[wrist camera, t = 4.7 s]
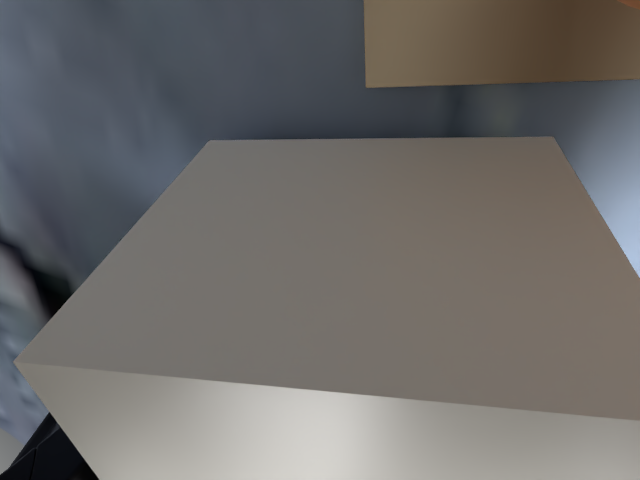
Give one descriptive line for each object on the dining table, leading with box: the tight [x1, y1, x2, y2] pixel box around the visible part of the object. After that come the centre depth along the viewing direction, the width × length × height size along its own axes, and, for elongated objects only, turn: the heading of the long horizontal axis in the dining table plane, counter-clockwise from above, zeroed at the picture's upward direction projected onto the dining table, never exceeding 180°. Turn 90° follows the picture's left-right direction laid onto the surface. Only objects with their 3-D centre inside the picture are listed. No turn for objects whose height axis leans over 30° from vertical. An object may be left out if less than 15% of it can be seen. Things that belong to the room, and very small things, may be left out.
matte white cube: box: [13, 137, 640, 480], centre depth 10 cm, size 8×8×7 cm
